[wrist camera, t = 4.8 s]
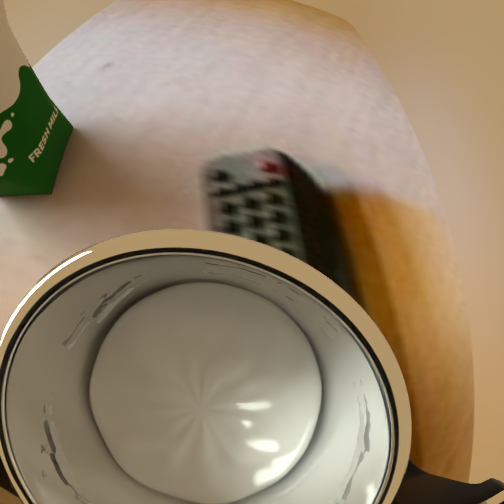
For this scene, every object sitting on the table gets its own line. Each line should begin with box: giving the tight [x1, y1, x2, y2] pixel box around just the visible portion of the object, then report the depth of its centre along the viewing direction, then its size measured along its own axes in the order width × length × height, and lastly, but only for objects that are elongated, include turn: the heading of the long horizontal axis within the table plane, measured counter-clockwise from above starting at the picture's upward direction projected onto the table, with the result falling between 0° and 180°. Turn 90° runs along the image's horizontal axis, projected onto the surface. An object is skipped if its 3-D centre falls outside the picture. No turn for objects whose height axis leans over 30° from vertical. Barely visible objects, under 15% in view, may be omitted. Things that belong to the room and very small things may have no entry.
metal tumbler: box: [0, 229, 412, 504], centre depth 10 cm, size 7×7×15 cm
